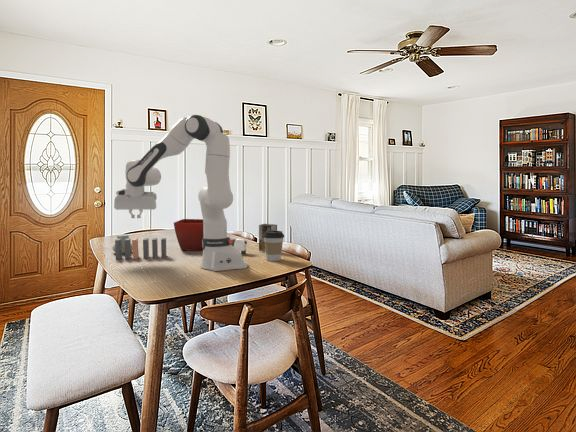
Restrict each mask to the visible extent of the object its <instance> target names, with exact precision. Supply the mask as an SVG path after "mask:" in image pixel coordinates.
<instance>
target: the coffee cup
mask: <svg viewBox="0 0 576 432" xmlns="http://www.w3.org/2000/svg"><path fill="white" fill-rule="evenodd" d="M263 237H264V242H265V251H266V253H265V259H266V261H269V262H279V261H281V258H282V250H283V242H284V238H285V234H284V233H283V231H282V230H277V231H265V234H263Z"/></svg>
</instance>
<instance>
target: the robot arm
mask: <svg viewBox="0 0 576 432" xmlns="http://www.w3.org/2000/svg"><path fill="white" fill-rule="evenodd" d="M193 140H198V141H201V142H204V144H205V146H206V152H205V166H204V174H205V176H206V182H207V185H205V186H204V187H202V188H201V189H200V190H199V191H198V195H197V196H198V201H199V205H200V210H201V215H202V219H203V233H204V237H203V240H202V248H203V250H202V258H201V262H200V266H199V267H200V268H201V269H204V270H210V271H213V272H214V271H215V272H217V271H218V272H220V271H229V270H230V271H231V270H241V269H246V268H247V267H248V262H247V261H245V260H244V257H243V255H242V254H241V251H239V250H237V249H236V248H235V247H233V246H232V245H231V243H232V242H233V241H232V238H231V237H230V238H228V237H229V236H228V221H227V218H226V215H225V212H224V210H225V209H227V208H229V207H230V206H232V205H233V202H234V195H233V192H232V190H231V189H232V188H231V184H230V183H231V182H230V175H229V174H230V173H229V172H230V157H231V146H230V138H229V136H228V135H227V134H226V133H224V130H223V127H222V126H221V125H220V124H219V123H218V122H217V121H214V120H212V119H210V118H208V117H206V116H203V115H199V114H192V115H190V116H188V117H185V116H184V117H182V118H180V119H179V120H178V121H177V122H176V123H175V124H174V125H173V126H172V127H171V128H170V129H169V131H168V132H167V133H166V134H165V135H164V137H163V138H162V139H161V140H159V141H158V142H157V143H155V144H154V146H152V147H151V148H150V149H148V151H147V152H146V154H145V155H144V156H142V158H141V159H132V160H128V161H127V162H126V164H125V172H124V173H125V181H126V183H125V188H122V189H120V190H116V191H115V192H116V193H115V194H116V196H115V198H114V205H113V206H114V209H115V210H120V211H121V210H125V211H126V210H128V213H129V214H130V216H131V217H130V218H131V219H135V218H136V217H137V219H142V217H141V216H142V213H143V212H144V211H145V210H156V209H157V194H156V193H155V192H154V191H145V187H149V186H150V187H151V186H152V187H153V186H156V185H157V186H158V184H160V183H161V179H162V175H161V171H160V170H159V169H158V168H156V167H154V166H156V164H157V163H159V161H161V160H163V159H165V158H168V157H173V156H178V155H180V154H182V152H184V151H185V150H186V149H187V148H188V147H189V145H190V144H191V143H192V142H193ZM133 210H138V211H139V214H137V216H136V215H135V214H133ZM135 216H136V217H135Z"/></svg>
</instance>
